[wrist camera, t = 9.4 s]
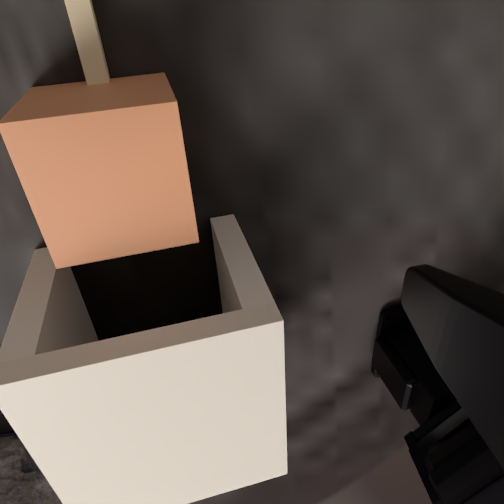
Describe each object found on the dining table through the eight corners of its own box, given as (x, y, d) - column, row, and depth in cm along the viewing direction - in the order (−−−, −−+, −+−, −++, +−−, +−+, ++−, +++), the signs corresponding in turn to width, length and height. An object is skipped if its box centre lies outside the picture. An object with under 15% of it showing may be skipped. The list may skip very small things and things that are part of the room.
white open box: (233, 214, 20) (283, 320, 14) (247, 352, 26) (287, 473, 20) (34, 249, 19) (-14, 388, 12) (94, 388, 24) (83, 534, 18)
